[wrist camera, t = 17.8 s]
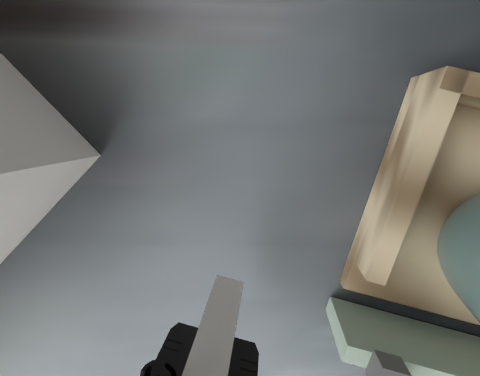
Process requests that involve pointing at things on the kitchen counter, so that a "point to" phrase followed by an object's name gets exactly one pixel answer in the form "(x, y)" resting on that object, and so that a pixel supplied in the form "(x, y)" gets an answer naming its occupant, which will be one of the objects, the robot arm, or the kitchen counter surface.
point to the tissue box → (33, 157)
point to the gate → (400, 343)
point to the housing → (419, 194)
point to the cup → (462, 252)
